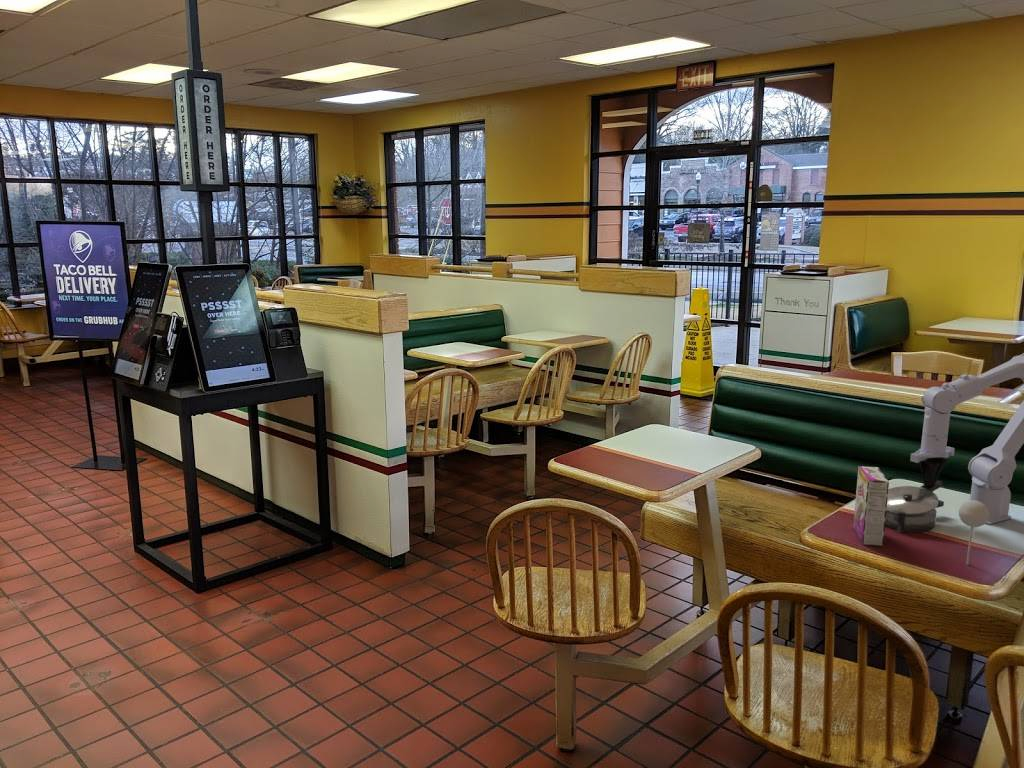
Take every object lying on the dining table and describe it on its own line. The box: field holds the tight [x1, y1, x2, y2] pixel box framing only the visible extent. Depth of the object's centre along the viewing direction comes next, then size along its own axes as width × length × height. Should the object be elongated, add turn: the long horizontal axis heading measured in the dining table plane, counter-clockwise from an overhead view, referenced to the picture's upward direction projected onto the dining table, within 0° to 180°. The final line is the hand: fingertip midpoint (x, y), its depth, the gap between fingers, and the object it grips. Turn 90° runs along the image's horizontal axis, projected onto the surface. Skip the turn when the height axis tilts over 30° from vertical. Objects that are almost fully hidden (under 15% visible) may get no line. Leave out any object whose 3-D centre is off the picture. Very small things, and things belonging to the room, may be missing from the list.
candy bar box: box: [852, 465, 890, 547], centre depth 194 cm, size 11×5×16 cm, turn 168°
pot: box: [885, 499, 945, 534], centre depth 206 cm, size 20×13×5 cm, turn 117°
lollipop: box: [958, 500, 989, 566], centre depth 179 cm, size 6×6×15 cm
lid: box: [886, 479, 944, 515], centre depth 205 cm, size 19×14×2 cm
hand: (929, 485), depth 207 cm, fingers closed
